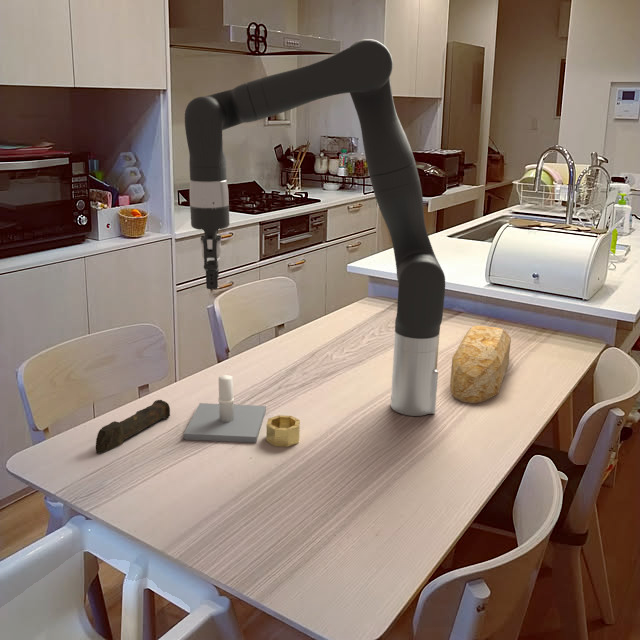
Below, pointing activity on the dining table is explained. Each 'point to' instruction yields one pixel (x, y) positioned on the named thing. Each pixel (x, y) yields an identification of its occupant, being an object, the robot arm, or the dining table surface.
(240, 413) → the post base
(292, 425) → the ring
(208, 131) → the robot arm
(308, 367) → the dining table surface
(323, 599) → the dining table surface
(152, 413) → the hand tool
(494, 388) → the bread
